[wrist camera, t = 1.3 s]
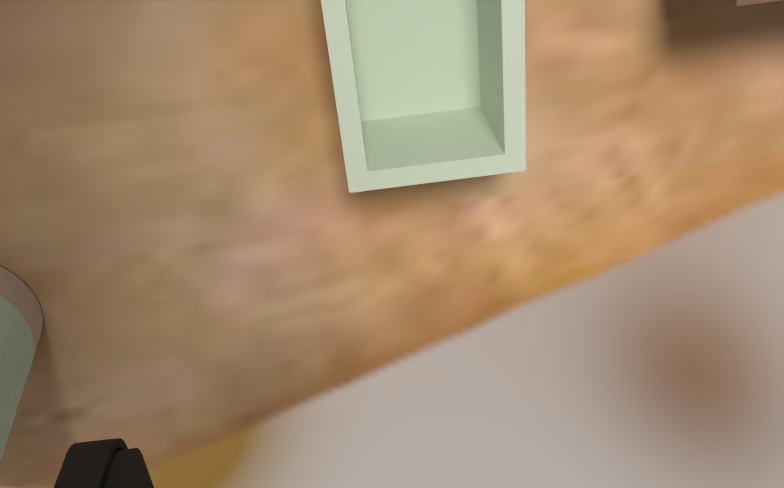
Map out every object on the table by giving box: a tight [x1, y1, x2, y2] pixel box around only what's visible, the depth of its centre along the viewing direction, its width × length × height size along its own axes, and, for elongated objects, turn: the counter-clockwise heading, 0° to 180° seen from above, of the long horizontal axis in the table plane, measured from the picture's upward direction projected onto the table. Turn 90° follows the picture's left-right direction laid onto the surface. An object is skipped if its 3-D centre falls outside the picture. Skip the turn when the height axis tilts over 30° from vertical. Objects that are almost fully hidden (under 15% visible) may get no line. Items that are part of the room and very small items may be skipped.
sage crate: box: [321, 0, 526, 193], centre depth 25 cm, size 10×6×5 cm, turn 6°
